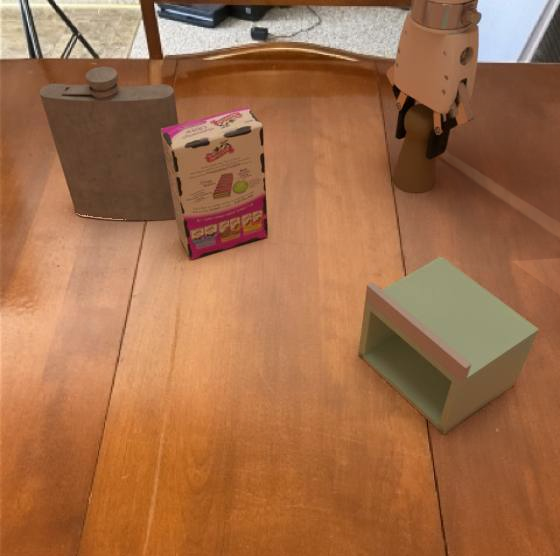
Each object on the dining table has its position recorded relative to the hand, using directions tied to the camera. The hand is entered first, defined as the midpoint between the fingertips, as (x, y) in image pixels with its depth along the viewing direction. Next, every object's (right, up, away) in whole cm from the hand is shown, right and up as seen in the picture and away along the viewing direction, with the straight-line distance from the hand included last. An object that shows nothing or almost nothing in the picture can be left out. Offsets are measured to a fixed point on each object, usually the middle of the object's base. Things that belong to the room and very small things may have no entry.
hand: (420, 144), depth 93 cm
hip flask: (-40, -10, +1) cm, 41 cm away
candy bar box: (-27, -14, -3) cm, 30 cm away
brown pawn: (0, -4, +5) cm, 6 cm away
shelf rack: (-2, -31, -17) cm, 36 cm away
